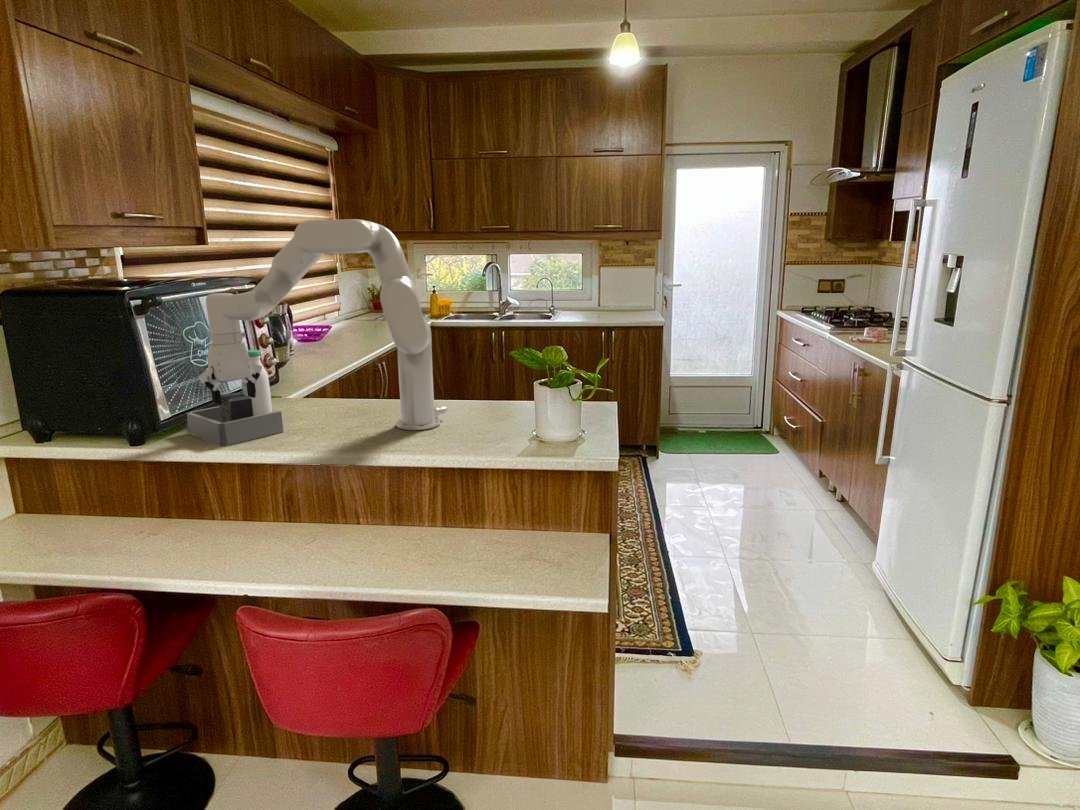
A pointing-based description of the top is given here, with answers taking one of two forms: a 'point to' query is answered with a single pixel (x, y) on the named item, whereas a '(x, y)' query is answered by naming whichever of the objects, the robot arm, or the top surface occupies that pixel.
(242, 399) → the small box
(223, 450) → the top surface
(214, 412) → the tray
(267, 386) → the milk bottle
